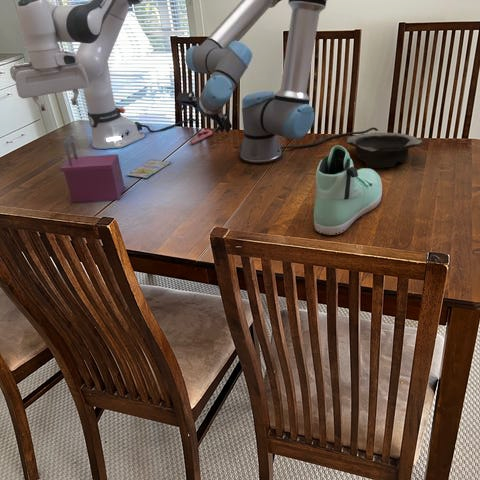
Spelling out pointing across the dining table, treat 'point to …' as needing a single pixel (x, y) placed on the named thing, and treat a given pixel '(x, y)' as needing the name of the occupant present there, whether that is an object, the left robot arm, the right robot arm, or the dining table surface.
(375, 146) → the stone bowl
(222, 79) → the right robot arm
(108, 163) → the lid
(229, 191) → the dining table surface
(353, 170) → the sneaker
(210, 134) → the pink flat elongated piece
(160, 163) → the baking ingredient package
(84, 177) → the chest
